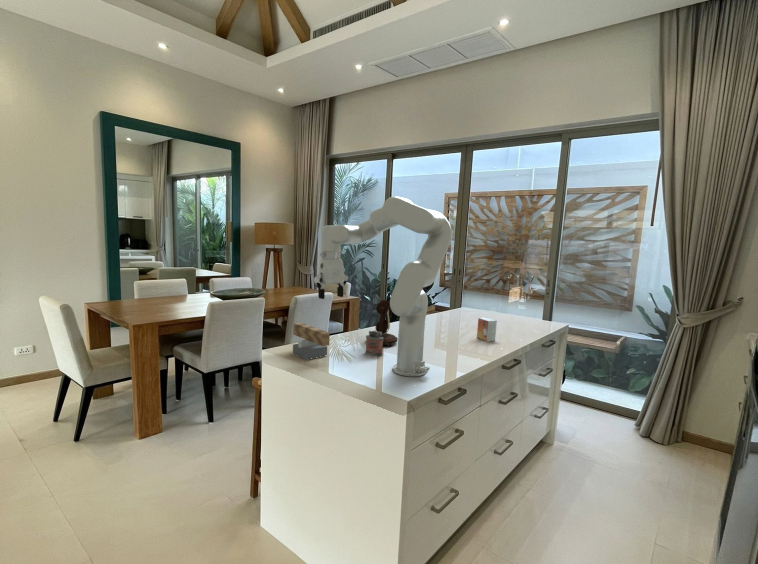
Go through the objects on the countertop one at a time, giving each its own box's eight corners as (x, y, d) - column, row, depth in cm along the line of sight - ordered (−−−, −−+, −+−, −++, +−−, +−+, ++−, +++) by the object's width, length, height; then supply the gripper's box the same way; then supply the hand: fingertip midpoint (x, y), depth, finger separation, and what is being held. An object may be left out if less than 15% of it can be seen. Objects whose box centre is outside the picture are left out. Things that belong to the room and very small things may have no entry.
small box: (476, 337, 205) (477, 317, 203) (485, 336, 207) (486, 317, 206) (486, 341, 197) (488, 320, 196) (495, 340, 200) (497, 320, 199)
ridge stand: (326, 355, 162) (327, 340, 161) (306, 360, 155) (306, 344, 154) (313, 350, 169) (313, 335, 169) (292, 354, 162) (293, 338, 162)
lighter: (363, 353, 168) (364, 330, 167) (367, 351, 171) (368, 328, 170) (380, 356, 164) (381, 333, 163) (384, 354, 167) (385, 331, 166)
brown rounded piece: (395, 348, 178) (397, 304, 175) (363, 345, 180) (365, 302, 178) (398, 340, 192) (401, 299, 190) (369, 337, 194) (370, 297, 192)
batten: (329, 345, 155) (329, 332, 154) (322, 346, 152) (323, 333, 152) (299, 333, 170) (299, 322, 170) (293, 334, 168) (293, 323, 168)
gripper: (319, 256, 152) (319, 300, 154) (353, 256, 164) (352, 296, 166) (308, 255, 157) (308, 298, 159) (341, 255, 169) (341, 295, 171)
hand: (331, 297), depth 162 cm, fingers open, 9 cm apart
